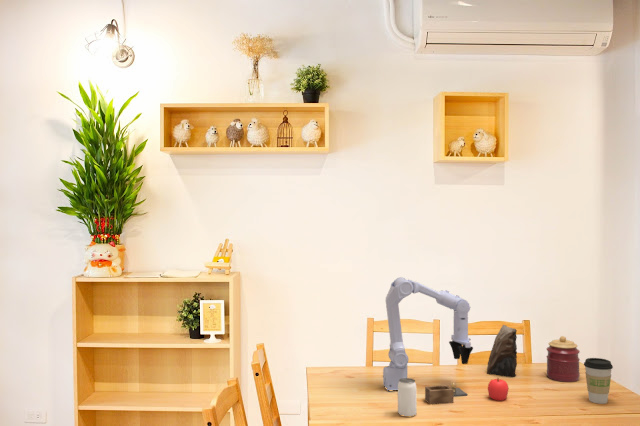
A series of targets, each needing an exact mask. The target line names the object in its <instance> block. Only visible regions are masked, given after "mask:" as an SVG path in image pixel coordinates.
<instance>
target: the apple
mask: <svg viewBox="0 0 640 426" xmlns="http://www.w3.org/2000/svg"><path fill="white" fill-rule="evenodd" d="M499 378H500V377H497V378H493V379H491V380H490V381H489V383H488V384H487V393H488V397H490V399H492V400H494V401H499V402H500V401H505V400H506V399H507V398H508V394H509V390H510V389H509V388H510V387H509V384H508V382H507V381H506V380H504V379H502V378H501V379H499Z"/></svg>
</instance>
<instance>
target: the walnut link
mask: <svg viewBox="0 0 640 426" xmlns="http://www.w3.org/2000/svg"><path fill="white" fill-rule="evenodd" d="M424 400H425V401H426V400H427V401H428V402H429V403H430V404H432V405H441V404H442V405H444V404H445V405H446V404H454V397H453V389H452V388H451V386H450V385H448V384H441V385H428V386H427V385H426V386H424ZM427 401H426V402H427ZM428 402H427V403H428ZM429 403H428V404H429ZM430 404H429V405H430Z"/></svg>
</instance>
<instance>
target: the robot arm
mask: <svg viewBox="0 0 640 426" xmlns="http://www.w3.org/2000/svg"><path fill="white" fill-rule="evenodd" d="M417 293H420V294H423V295H425V296H428V297H430V298H433V299H435V300H436V303H437V304H439V305H441V306H443V307H446V308H447V309H450V310H453V334H451V337H450V338H451V339H450V341H448V343H449V345H450V347H451V351H452V355H453V359H454V360H460V361H461V364H462V365H467V364H468V363H469V361H470V356H471V354H472V352H473V350H474V347H473V346H471V345H472V343H471V342H470V341H471V338H470V337H469V317H468V316H469V312H470V310H471V306H470V303H469V302H468V301H467V300H466V299H464V298H462V297H460V295H457V294H456V295H455V294H452V293H450V291H449V290H447V289H445V290H440V291H438V290H436V289H433V288H431V287H429V286H427V285H425V284H422V283H420V282H418V281H416V280H412V279H409V278H405V277H402V276H400V277H397V278H396V279H394V280H393V282H391V284H390V288H389V290H388V293H387V294H386V296H385V306H386V307H385V308H386V313H387V315H386V316H387V325H388V332H389V333H388V334H389V341H390V342H389V351H388V358H389V360H390V362H389V365H388V366H383V369H382V370H383V371H382V373H383V376H382V378H383V379H382V381H383V384H382V386H383V385H384V386H385V387H386V388H387V389H386V388H385V387H384V386H383V387H384V388H385V389H386V391H388V390H398V383H399V379H402V378H408V364H409V356H408V354H407V353H406V349H405V348H406V347H405V346H404V341H403V332H402V325H401V316H400V314H401V313H400V308H399V305H400V304H399V303H401V302H402V300H403V299H404V298H406V297H408V296H410V295H411V294H417Z"/></svg>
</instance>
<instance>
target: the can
mask: <svg viewBox="0 0 640 426" xmlns="http://www.w3.org/2000/svg"><path fill="white" fill-rule="evenodd" d="M398 413H399V414H400V415H404V416H413V415H415V416H417V383H416V380H415V379H414V378H412V377H411V378H410V377H407V378H402V379H399V383H398V391H397V414H398ZM399 414H398V415H399ZM400 415H399V416H400ZM413 417H414V416H413Z"/></svg>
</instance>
